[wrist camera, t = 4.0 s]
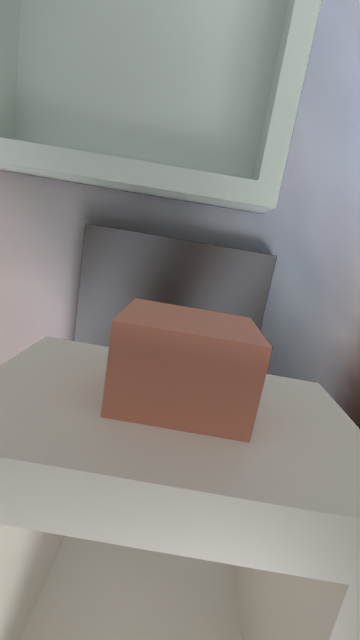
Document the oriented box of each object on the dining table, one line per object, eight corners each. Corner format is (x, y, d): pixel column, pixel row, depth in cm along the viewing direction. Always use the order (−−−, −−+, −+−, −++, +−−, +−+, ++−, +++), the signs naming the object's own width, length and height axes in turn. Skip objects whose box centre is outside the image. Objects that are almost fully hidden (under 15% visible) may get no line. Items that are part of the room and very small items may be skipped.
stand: (272, 255, 18) (319, 262, 11) (235, 419, 20) (256, 508, 14) (91, 224, 18) (28, 213, 11) (74, 391, 20) (14, 466, 14)
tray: (333, -121, 14) (368, -214, 11) (262, 214, 18) (275, 208, 15) (15, -172, 14) (-31, -277, 12) (2, 170, 18) (-36, 155, 15)
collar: (335, 322, 8) (503, 417, 4) (258, 595, 10) (308, 868, 6) (51, 273, 8) (-119, 311, 4) (30, 555, 10) (-97, 796, 6)
